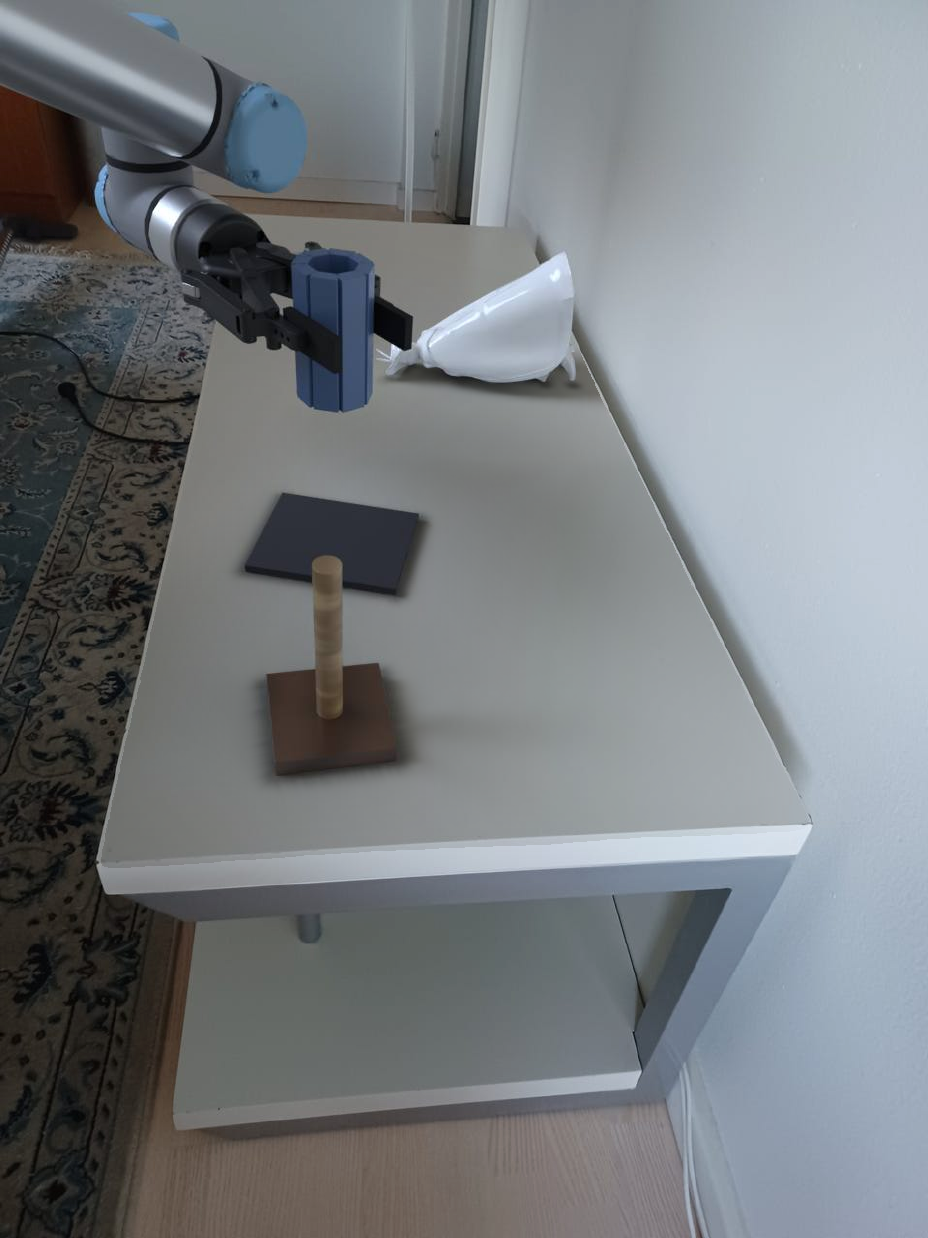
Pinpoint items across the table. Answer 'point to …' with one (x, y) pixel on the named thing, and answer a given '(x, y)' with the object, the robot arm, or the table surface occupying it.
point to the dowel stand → (329, 695)
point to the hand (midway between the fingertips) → (374, 344)
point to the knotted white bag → (504, 331)
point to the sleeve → (336, 326)
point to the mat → (335, 541)
